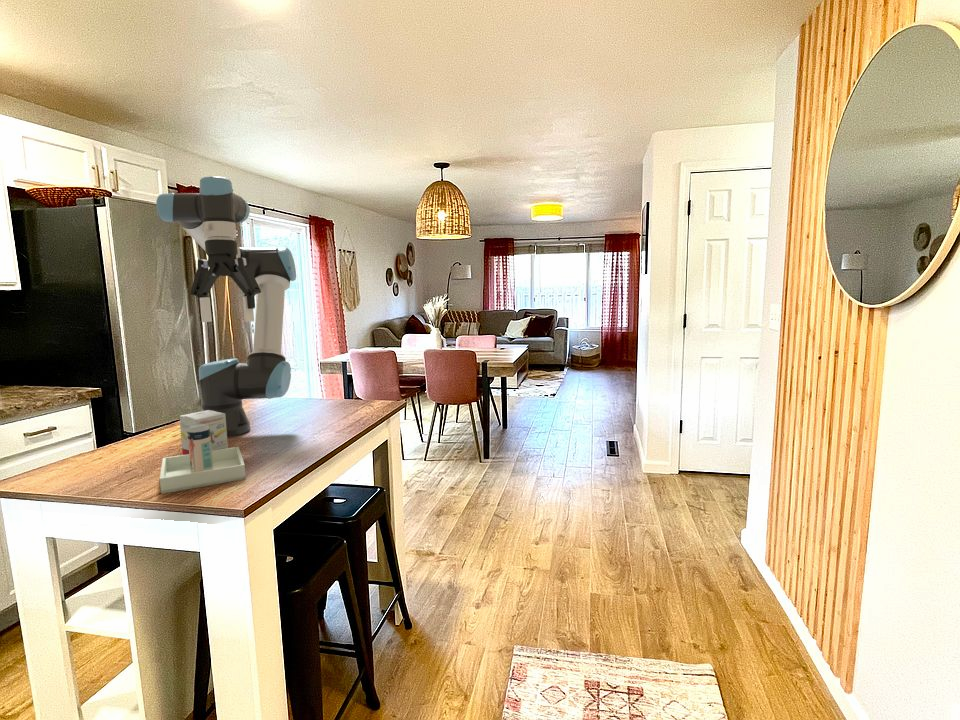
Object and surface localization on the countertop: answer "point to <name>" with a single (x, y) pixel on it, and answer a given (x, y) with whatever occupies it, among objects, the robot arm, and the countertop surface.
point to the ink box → (214, 422)
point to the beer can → (200, 447)
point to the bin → (180, 477)
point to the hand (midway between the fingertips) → (227, 321)
